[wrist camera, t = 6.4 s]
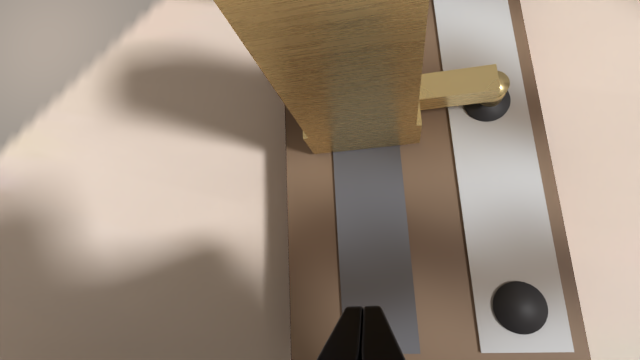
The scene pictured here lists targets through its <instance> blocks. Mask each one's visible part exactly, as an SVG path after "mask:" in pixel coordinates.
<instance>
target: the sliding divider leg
mask: <svg viewBox="0 0 640 360" xmlns="http://www.w3.org/2000/svg"><path fill="white" fill-rule="evenodd" d="M214 2H215V3H216V5H217V6H218V8H219V9H220V10H221V12H222V13H223V15H224V16H225V18H226V19H227V21H228V22H229V24H230V25H231V26H232V28H233V29H234V31H235V32H236V34H237V35H238V37H239V38H240V40H241V41H242V43H243V44H244V45H245V47H246V48H247V50H248V51H249V53H250V54H251V56H252V57H253V59H254V60H255V61H256V63H257V64H258V66H259V67H260V69H261V70H262V72H263V73H264V75H265V76H266V78H267V79H268V80H269V82H270V83H271V85H272V86H273V88H274V89H275V91H276V92H277V94H278V95H279V96H280V98H281V99H282V101H283V102H284V104H285V105H286V107H287V108H288V110H289V111H290V113H291V114H292V115H293V117H294V118H295V120H296V121H297V123H298V124H299V126H300V127H301V129H302V130H303V139H304V141H305V142H306V144H307V145H308V146H309V148H310V149H311V151H312V152H313V153H314V154H321V153H331V152H340V151H350V150H359V149H368V148H378V147H387V146H397V145H406V144H416V143H420V137H421V130H422V120H421V111H420V110H427V109H435V108H443V107H451V106H460V105H468V104H476V103H480V104H481V105H483V106H486V107H493V106H496V105H498V104H499V103H500V102H501V101H502V99H503V97H504V95H505V94H506V92H507V90H508V89H509V86H510V80H509V78H508V76H507V75H506V74H505V73H503V72H501V71H497V65H496V64H491V65H484V66H477V67H470V68H462V69H455V70H448V71H441V72H433V73H426V74H422V66H423V56H424V46H425V36H426V26H427V17H428V7H429V0H214Z"/></svg>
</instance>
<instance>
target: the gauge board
mask: <svg viewBox="0 0 640 360" xmlns="http://www.w3.org/2000/svg"><path fill="white" fill-rule="evenodd" d="M491 64H496V65H497V71H501V72H503V73H505V74H506V75H507V76H508V78H509V80H510V86H509V89H508V90H507V92H506V94H505V95H504V97H503V99H502V101H501V102H500V103H499V104H498V105H496V106H493V107H486V106H483V105H481V104H480V103H476V104H468V105H460V106H451V107H443V108H435V109H427V110H420V111H421V120H422V130H421V137H420V143H416V144H406V145H397V146H387V147H378V148H368V149H359V150H350V151H340V152H331V153H321V154H314V153H313V152H312V151H311V149H310V148H309V146H308V145H307V144H306V142H305V141H304V139H303V130H302V129H301V127H300V126H299V124H298V123H297V121H296V120H295V118H294V117H293V115H292V114H291V113H290V111H289V110H288V108H287V107H286V105H285V128H286V167H287V206H288V246H289V285H290V324H291V360H316V359H317V357H318V356H319V354H320V352H321V350H322V349H323V347H324V345H325V343H326V341H327V340H328V338H329V336H330V334H331V332H332V331H333V329H334V327H335V325H336V323H337V322H338V320H339V318H340V316H341V315H342V313H343V311H344V309H345V308H346V307H349V306H361V307H363V309H364V307H365V306H380V307H381V308H382V310H383V312H384V314H385V316H386V318H387V320H388V323H389V325H390V327H391V329H392V331H393V333H394V336H395V338H396V340H397V342H398V344H399V346H400V348H401V351H402V353H403V355H404V357H405V359H406V360H591V357H590V352H589V347H588V342H587V337H586V332H585V327H584V322H583V317H582V312H581V307H580V302H579V297H578V292H577V287H576V282H575V277H574V272H573V267H572V262H571V257H570V252H569V247H568V241H567V236H566V231H565V226H564V221H563V216H562V211H561V206H560V201H559V196H558V191H557V186H556V181H555V176H554V171H553V166H552V161H551V156H550V151H549V146H548V141H547V136H546V131H545V126H544V121H543V115H542V110H541V105H540V100H539V95H538V90H537V85H536V80H535V75H534V70H533V65H532V60H531V55H530V50H529V45H528V40H527V35H526V30H525V25H524V20H523V15H522V10H521V5H520V0H429V7H428V17H427V26H426V36H425V46H424V56H423V66H422V74H426V73H433V72H441V71H448V70H455V69H462V68H470V67H477V66H484V65H491Z"/></svg>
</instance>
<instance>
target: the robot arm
mask: <svg viewBox="0 0 640 360" xmlns="http://www.w3.org/2000/svg"><path fill="white" fill-rule="evenodd" d="M316 360H406V359H405V357H404V355H403V353H402V351H401V348H400V346H399V344H398V342H397V340H396V338H395V336H394V333H393V331H392V329H391V327H390V325H389V323H388V320H387V318H386V316H385V314H384V312H383V310H382V308H381V307H380V306H365V307H364V309H363V307H361V306H349V307H346V308H345V309H344V311H343V313H342V315H341V316H340V318H339V320H338V322H337V323H336V325H335V327H334V329H333V331H332V332H331V334H330V336H329V338H328V340H327V341H326V343H325V345H324V347H323V349H322V350H321V352H320V354H319V356H318V357H317V359H316Z"/></svg>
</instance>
